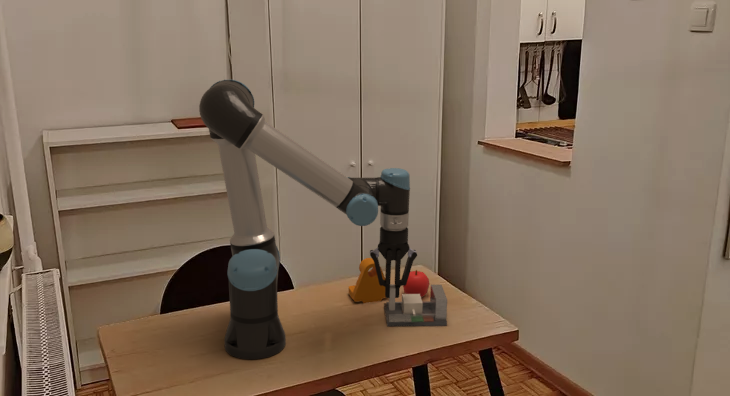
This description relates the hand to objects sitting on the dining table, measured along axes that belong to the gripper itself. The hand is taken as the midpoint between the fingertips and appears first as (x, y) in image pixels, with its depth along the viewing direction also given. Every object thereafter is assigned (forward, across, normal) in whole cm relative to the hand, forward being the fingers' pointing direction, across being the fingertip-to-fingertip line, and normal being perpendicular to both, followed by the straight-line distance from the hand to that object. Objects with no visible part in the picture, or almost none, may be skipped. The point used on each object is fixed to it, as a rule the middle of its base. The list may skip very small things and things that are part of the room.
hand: (391, 308), depth 182 cm
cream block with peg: (+1, +6, -1) cm, 6 cm away
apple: (+3, +8, +14) cm, 17 cm away
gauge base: (+3, +6, 0) cm, 7 cm away
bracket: (+3, -6, +13) cm, 14 cm away
